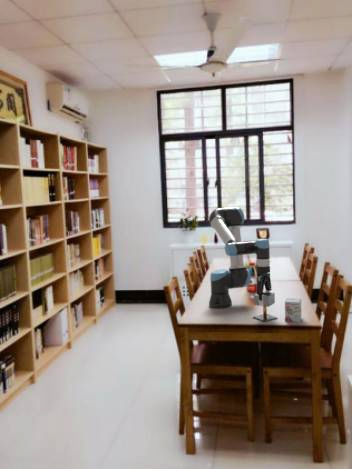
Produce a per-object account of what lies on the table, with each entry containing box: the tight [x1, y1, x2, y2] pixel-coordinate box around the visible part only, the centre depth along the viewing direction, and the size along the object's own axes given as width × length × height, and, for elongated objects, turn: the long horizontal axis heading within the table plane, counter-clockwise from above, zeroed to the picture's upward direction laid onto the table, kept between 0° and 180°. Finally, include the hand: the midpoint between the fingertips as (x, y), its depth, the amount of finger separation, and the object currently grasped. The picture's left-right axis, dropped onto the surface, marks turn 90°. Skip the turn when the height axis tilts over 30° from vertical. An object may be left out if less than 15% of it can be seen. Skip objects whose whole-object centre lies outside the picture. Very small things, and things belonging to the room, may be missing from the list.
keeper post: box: [252, 306, 278, 323], centre depth 257 cm, size 10×10×10 cm
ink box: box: [284, 297, 302, 323], centre depth 251 cm, size 9×9×12 cm
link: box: [253, 291, 276, 308], centre depth 256 cm, size 9×9×6 cm
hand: (264, 303), depth 256 cm, fingers closed on link, 9 cm apart
